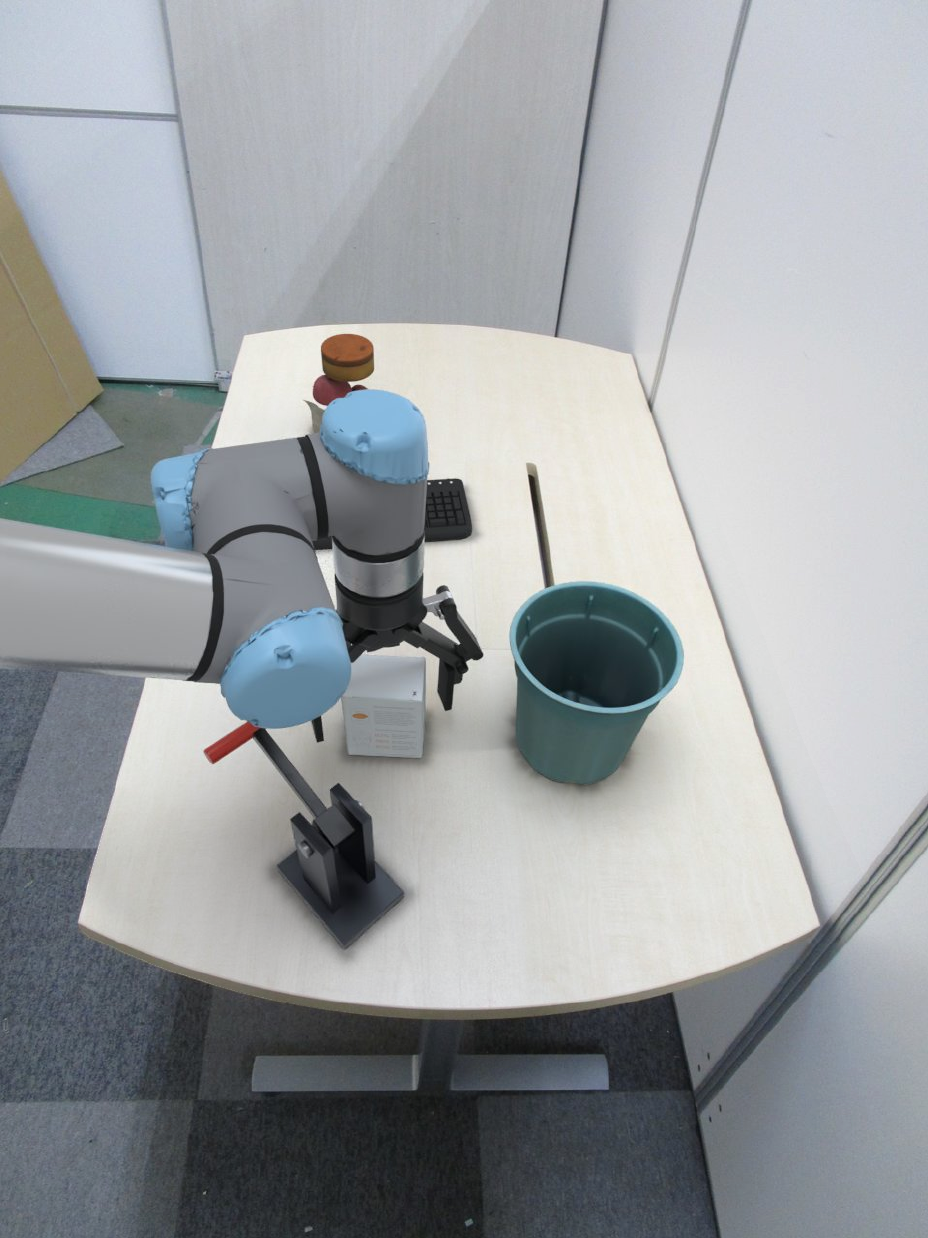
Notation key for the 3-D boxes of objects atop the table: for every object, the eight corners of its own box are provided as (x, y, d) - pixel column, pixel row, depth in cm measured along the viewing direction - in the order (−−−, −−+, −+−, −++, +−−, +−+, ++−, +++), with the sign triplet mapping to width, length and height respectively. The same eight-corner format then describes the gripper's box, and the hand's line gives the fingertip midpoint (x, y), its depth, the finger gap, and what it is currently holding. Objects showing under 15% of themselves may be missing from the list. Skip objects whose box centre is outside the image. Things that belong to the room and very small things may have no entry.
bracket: (277, 870, 74) (258, 803, 64) (337, 824, 77) (327, 754, 68) (344, 950, 69) (334, 890, 60) (404, 897, 73) (404, 833, 63)
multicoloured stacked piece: (307, 415, 123) (298, 325, 112) (388, 414, 125) (386, 325, 114) (306, 461, 115) (296, 369, 104) (392, 459, 117) (391, 368, 106)
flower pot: (484, 682, 90) (496, 583, 78) (622, 672, 92) (654, 574, 80) (509, 811, 79) (527, 720, 67) (664, 797, 81) (709, 705, 69)
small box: (425, 716, 86) (427, 656, 79) (422, 760, 83) (424, 701, 75) (353, 712, 86) (347, 651, 78) (346, 756, 82) (340, 696, 75)
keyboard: (249, 554, 102) (246, 543, 100) (250, 500, 109) (248, 489, 107) (473, 538, 106) (474, 527, 105) (460, 487, 113) (461, 476, 112)
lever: (203, 755, 66) (202, 746, 64) (291, 697, 71) (293, 687, 69) (296, 880, 64) (299, 874, 62) (381, 812, 68) (387, 804, 66)
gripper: (501, 516, 72) (482, 662, 87) (221, 566, 65) (255, 715, 81) (532, 571, 67) (506, 715, 83) (234, 632, 60) (267, 776, 76)
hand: (382, 715), depth 82 cm, fingers open, 13 cm apart
